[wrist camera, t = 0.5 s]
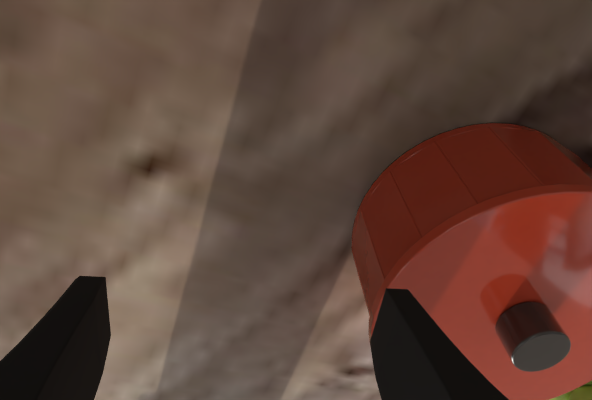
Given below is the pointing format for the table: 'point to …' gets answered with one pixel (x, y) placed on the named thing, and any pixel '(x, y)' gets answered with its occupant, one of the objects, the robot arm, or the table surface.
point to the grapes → (578, 393)
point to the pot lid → (511, 287)
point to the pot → (451, 188)
